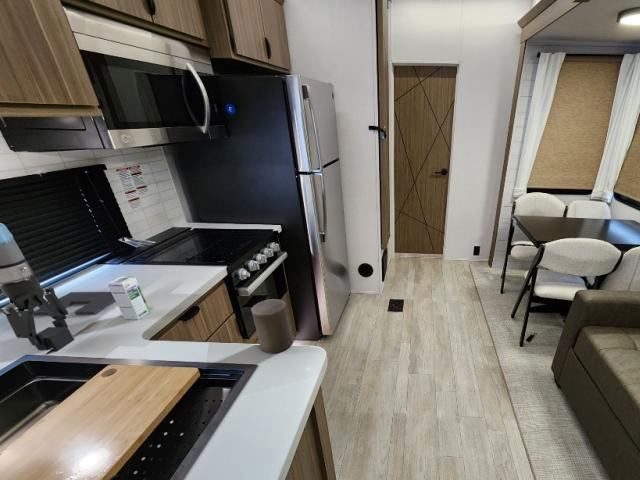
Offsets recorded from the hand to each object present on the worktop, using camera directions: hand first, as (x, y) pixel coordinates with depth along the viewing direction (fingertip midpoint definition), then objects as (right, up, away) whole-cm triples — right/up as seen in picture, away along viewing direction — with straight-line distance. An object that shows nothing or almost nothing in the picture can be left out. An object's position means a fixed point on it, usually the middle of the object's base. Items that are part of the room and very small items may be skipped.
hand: (56, 344), depth 104 cm
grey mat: (-12, +11, +22) cm, 28 cm away
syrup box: (+13, +8, +16) cm, 22 cm away
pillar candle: (+70, 0, 0) cm, 70 cm away
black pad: (0, 0, 0) cm, 0 cm away
